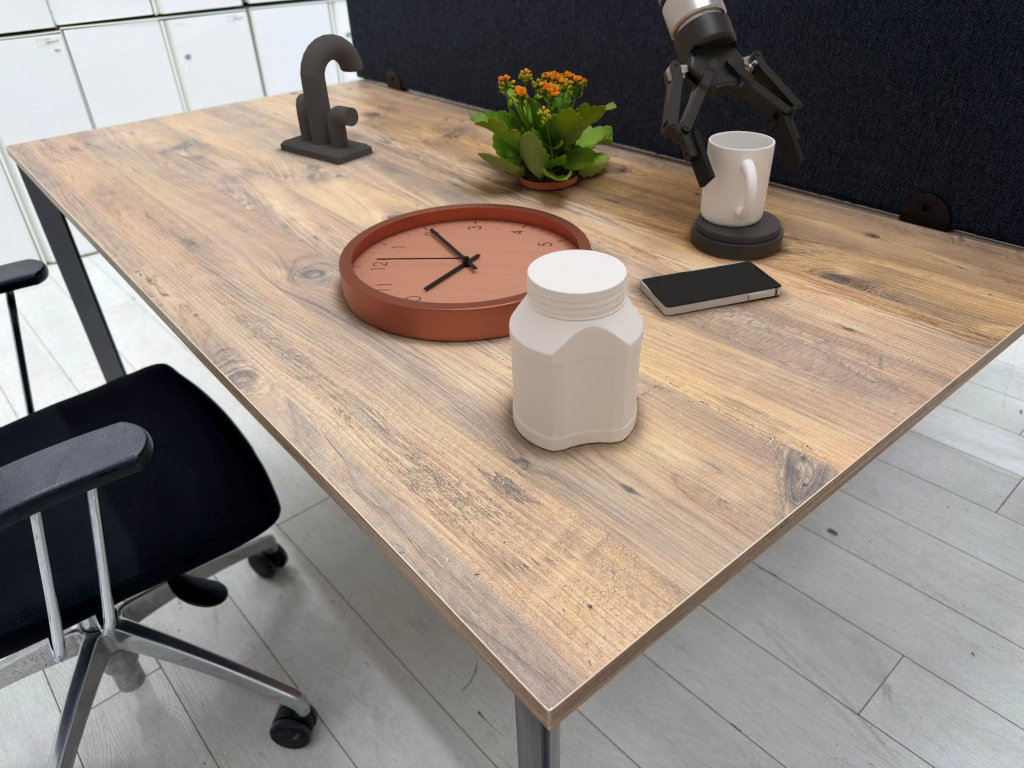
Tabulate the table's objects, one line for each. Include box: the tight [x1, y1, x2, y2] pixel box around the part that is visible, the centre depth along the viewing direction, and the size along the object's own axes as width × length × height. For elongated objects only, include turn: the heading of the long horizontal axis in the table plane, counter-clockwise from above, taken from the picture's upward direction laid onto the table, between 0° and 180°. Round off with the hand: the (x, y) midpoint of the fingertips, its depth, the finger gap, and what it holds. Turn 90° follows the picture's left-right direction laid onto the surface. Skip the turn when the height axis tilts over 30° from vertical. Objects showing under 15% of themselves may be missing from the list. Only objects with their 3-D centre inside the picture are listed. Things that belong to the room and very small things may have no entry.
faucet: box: [279, 33, 373, 165], centre depth 136 cm, size 18×16×20 cm
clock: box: [338, 202, 592, 342], centre depth 91 cm, size 31×4×31 cm
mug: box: [700, 130, 776, 227], centre depth 94 cm, size 12×8×10 cm
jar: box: [509, 250, 644, 452], centre depth 64 cm, size 12×10×15 cm
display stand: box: [689, 210, 784, 261], centre depth 98 cm, size 12×12×3 cm
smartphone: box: [639, 260, 783, 316], centre depth 87 cm, size 8×1×15 cm
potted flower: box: [468, 67, 617, 191], centre depth 116 cm, size 25×24×18 cm
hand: (753, 174), depth 92 cm, fingers open, 13 cm apart
